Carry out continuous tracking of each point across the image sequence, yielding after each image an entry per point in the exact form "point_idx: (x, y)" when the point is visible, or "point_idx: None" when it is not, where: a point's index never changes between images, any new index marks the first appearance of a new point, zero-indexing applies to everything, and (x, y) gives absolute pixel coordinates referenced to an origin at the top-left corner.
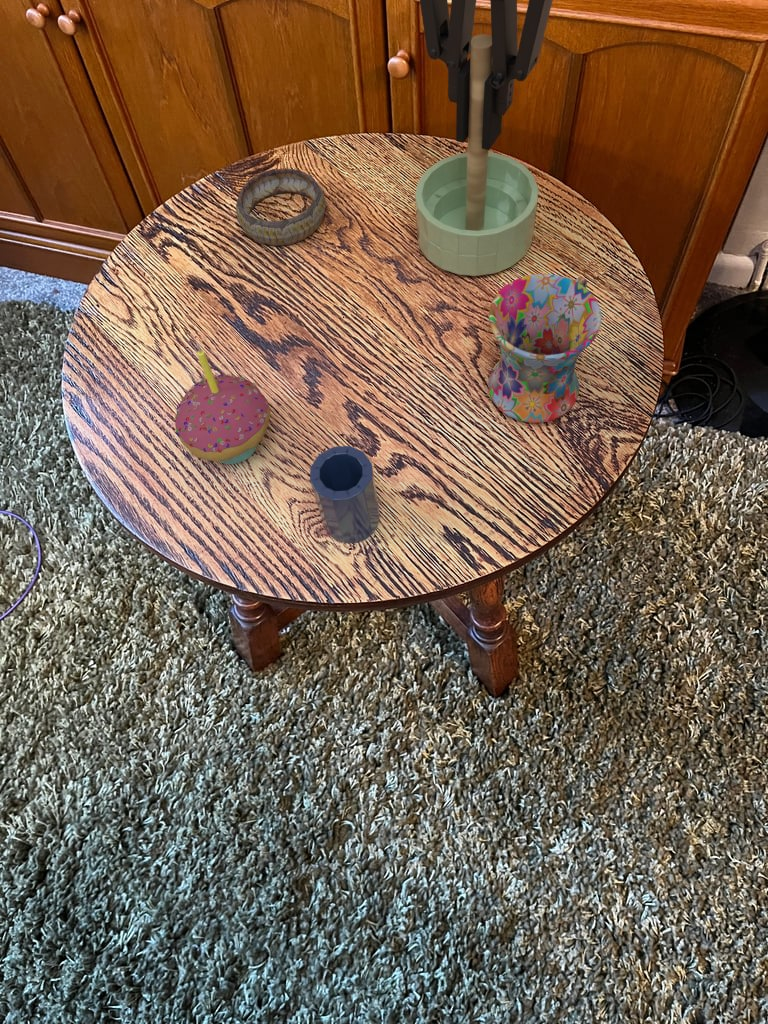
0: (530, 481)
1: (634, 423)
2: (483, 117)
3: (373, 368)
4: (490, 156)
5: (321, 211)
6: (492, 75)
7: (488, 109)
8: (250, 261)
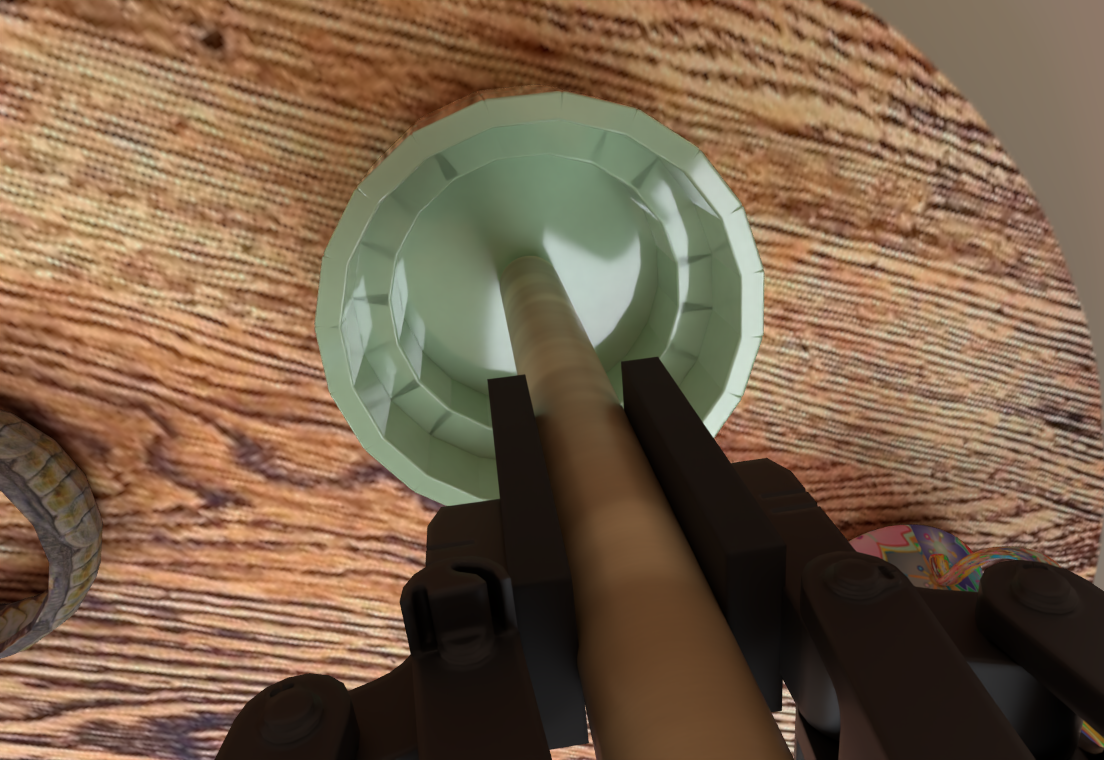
0: None
1: (1088, 549)
2: None
3: None
4: (487, 129)
5: (74, 500)
6: (747, 657)
7: None
8: (41, 662)
